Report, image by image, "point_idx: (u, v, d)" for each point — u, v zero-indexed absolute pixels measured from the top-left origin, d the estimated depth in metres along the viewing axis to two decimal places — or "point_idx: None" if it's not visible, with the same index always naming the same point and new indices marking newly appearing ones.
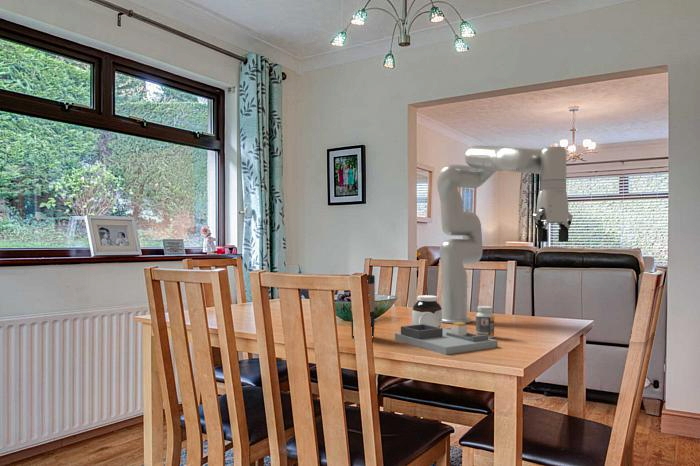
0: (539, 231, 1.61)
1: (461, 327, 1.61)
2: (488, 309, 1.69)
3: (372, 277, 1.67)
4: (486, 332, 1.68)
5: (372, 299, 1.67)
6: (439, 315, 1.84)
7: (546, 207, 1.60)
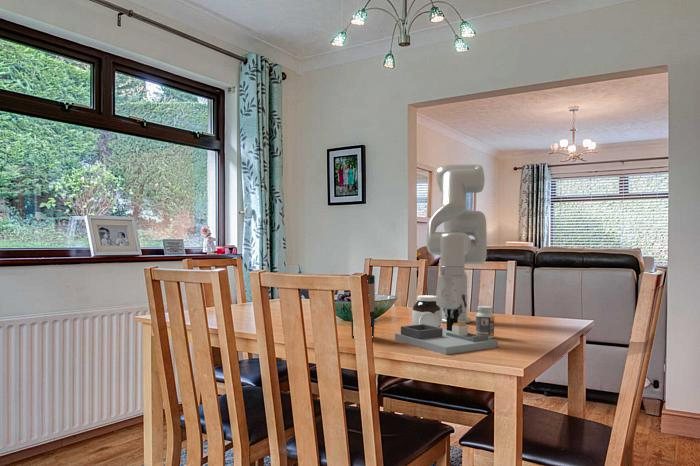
0: (454, 321, 1.64)
1: (462, 327, 1.61)
2: (488, 309, 1.69)
3: (372, 277, 1.67)
4: (486, 332, 1.68)
5: (372, 299, 1.67)
6: (439, 315, 1.84)
7: (466, 294, 1.62)
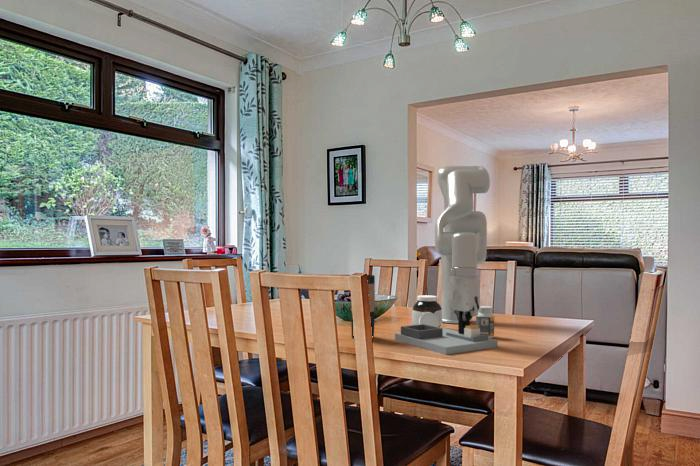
0: (466, 323, 1.59)
1: (474, 330, 1.56)
2: (488, 309, 1.69)
3: (372, 277, 1.67)
4: (486, 332, 1.68)
5: (372, 299, 1.67)
6: (439, 315, 1.84)
7: (478, 295, 1.57)
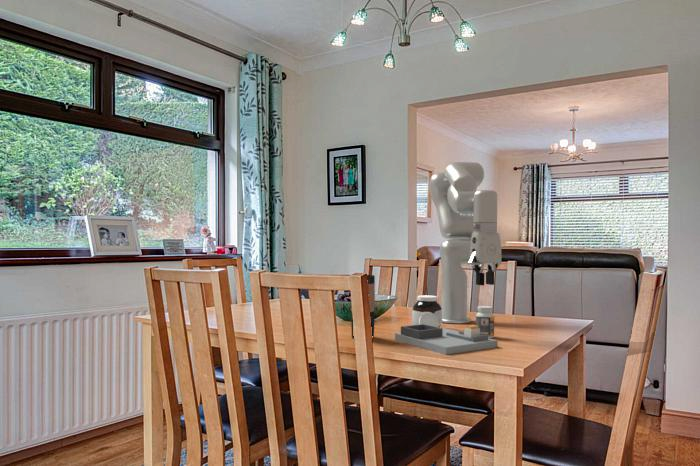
0: None
1: (474, 330, 1.56)
2: (488, 309, 1.69)
3: (372, 277, 1.67)
4: (486, 332, 1.68)
5: (372, 299, 1.67)
6: (439, 315, 1.84)
7: None
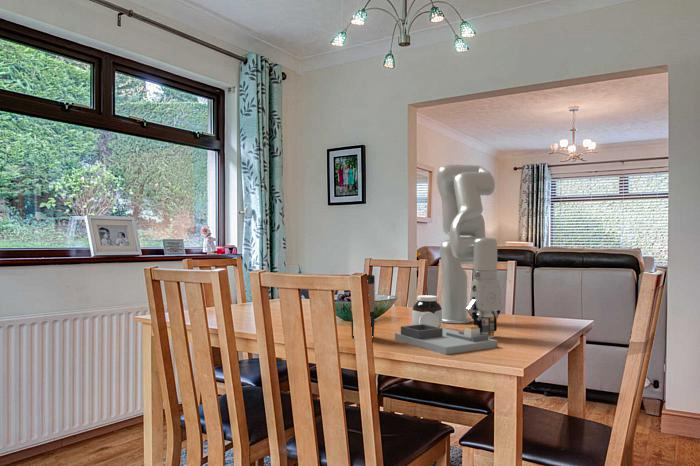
0: None
1: (474, 330, 1.56)
2: None
3: (372, 277, 1.67)
4: (486, 332, 1.68)
5: (372, 299, 1.67)
6: (439, 315, 1.84)
7: None
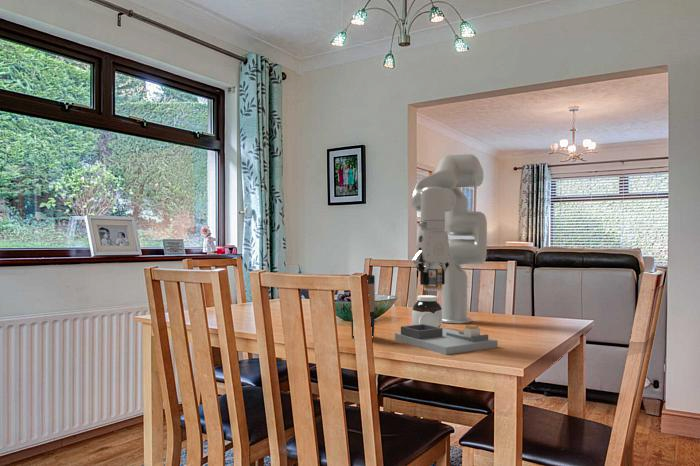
0: None
1: (474, 330, 1.56)
2: None
3: (372, 277, 1.67)
4: (433, 284, 1.61)
5: (372, 299, 1.67)
6: (439, 315, 1.84)
7: None
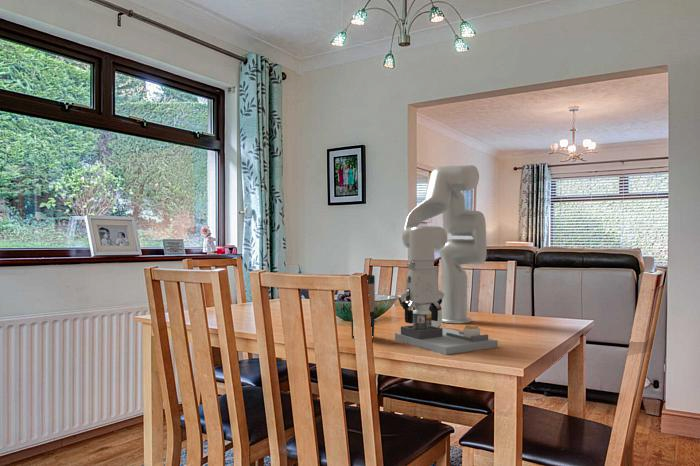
0: None
1: (474, 330, 1.56)
2: (424, 306, 1.60)
3: (372, 277, 1.67)
4: None
5: (372, 299, 1.67)
6: (439, 315, 1.84)
7: None
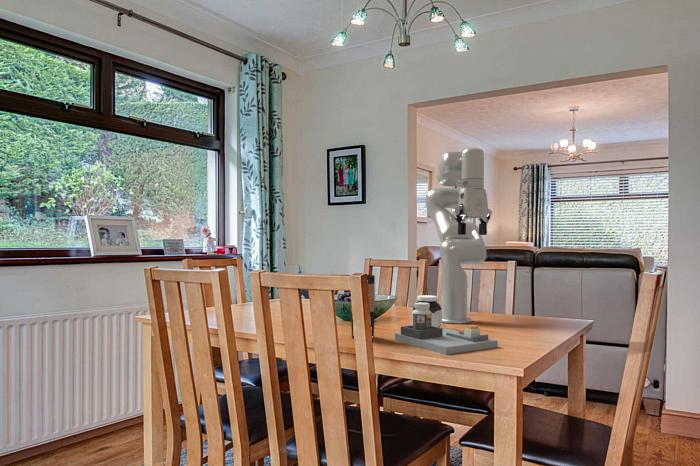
0: None
1: (474, 330, 1.56)
2: (424, 306, 1.60)
3: (372, 277, 1.67)
4: None
5: (372, 299, 1.67)
6: (439, 315, 1.84)
7: None
